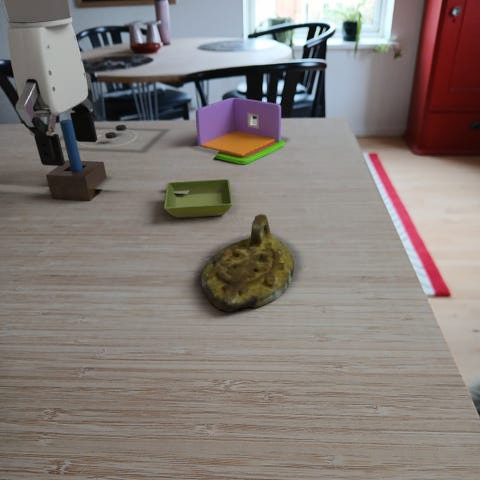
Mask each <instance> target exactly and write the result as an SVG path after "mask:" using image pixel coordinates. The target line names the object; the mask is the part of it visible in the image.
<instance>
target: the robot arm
mask: <svg viewBox="0 0 480 480" xmlns="http://www.w3.org/2000/svg"><path fill="white" fill-rule="evenodd" d="M1 4H2V7H3V10H4V14H5V18H6V22H7V25H8V27H7V28H6V33H7V44H8V52H9V58H10V63H11V68H12V73H13V78H14V83H15V87H16V93H17V96H18V100H17V102H16V103H15V111H16V112H17V114H18V115H19V117H20V118H21V120H22V121H23V126H25V128H27V129H28V130H29V134H30V135H31V136H33V138H34V141H35V145H36V148H37V152H38V156H39V159H40V163H41V164H42V165H43V166H51V167H52V166H53V167H58V166H63V165H64V164H65V161H66V160H65V156H64V152H63V148H62V143H61V140H60V137H59V136H60V135H59V133H55V132H56V131H55V130H56V123H57V117H59V116H60V115H62V114H64V113H66V112H69V111H70V110H71V112H69V114H70V115H69V116H70V120H72V124H73V128H74V133H75V137H76V141H77V143H78V142H80V143H96V142H97V141H98V138H97V136H98V134H97V130H96V125H95V121H94V115H93V111H94V105H93V103H92V98H93V91H92V90H91V89H92V88H91V87H92V86H91V85H92V77H91V74H90V73H89V72H87V71H86V70H85V67H84V61H83V58H82V54H81V51H80V47H79V43H78V40H77V36H76V32H75V30H74V29H75V28H74V27H73V24H72V23H73V22H74V21H73V20H74V19H73V15H72V10H71V6H70V1H69V0H1ZM41 118H46V121H45V122H44V121H43V120H42V119H41Z"/></svg>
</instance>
